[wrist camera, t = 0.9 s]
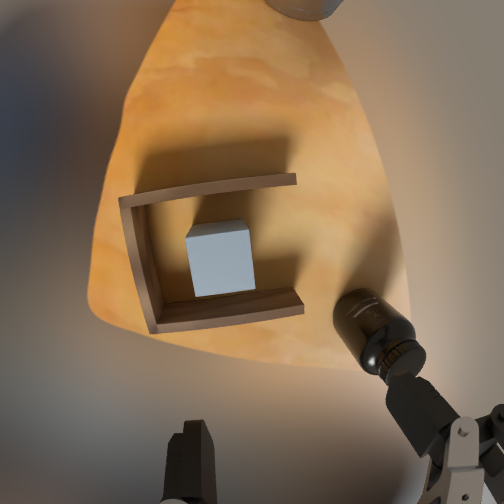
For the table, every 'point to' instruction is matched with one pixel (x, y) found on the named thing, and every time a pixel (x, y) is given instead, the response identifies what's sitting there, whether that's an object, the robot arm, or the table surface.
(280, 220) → the table surface
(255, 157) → the table surface
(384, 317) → the supplement bottle
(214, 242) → the slate block
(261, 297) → the brown three-sided frame
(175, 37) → the table surface
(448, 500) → the robot arm
